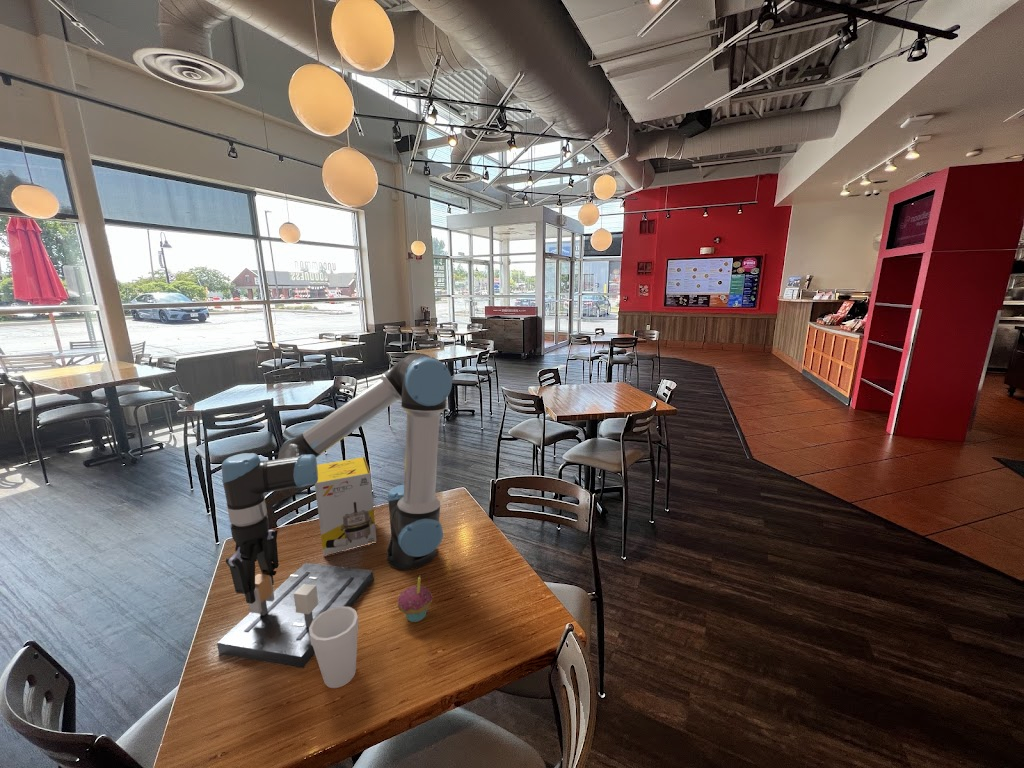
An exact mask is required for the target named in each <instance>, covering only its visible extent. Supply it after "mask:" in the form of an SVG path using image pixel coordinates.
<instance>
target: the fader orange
mask: <svg viewBox="0 0 1024 768" xmlns="http://www.w3.org/2000/svg"><path fill="white" fill-rule="evenodd" d="M255 587H257V588H258V589H259V596H260V602H261V608H262V612H261V613H260V615H263V616H264V615H265V614H266V613H267V612H268V610H267V604H266V598H267V597H269V596H270V595H271V594H272V587H271V581H270V575H264V574H262V573H257V574H255Z"/></svg>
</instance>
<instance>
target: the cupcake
mask: <svg viewBox="0 0 1024 768" xmlns="http://www.w3.org/2000/svg"><path fill="white" fill-rule="evenodd" d="M432 600H433V594H432V592H431V591H430V590H429V588H428V587H426V586H421V575H419V576H418V577H417V585H413V586H409V587H407V588H406V589H405V590H403V591H402V592H401V593H400V594H399V596H398V599H397V609H398V610H399V611H400V612H401V613H402V614H404V615H405V616H406V619H407V621H410V622H411V623H412V622H413V623H415V622H416V623H417V622H421V621H422V620H423V619H425V617H426V614H427V612H428V610H429V607H430V606H431V605H432V602H433V601H432Z"/></svg>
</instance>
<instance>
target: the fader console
mask: <svg viewBox="0 0 1024 768" xmlns="http://www.w3.org/2000/svg"><path fill="white" fill-rule="evenodd" d="M374 579H375V578H374V571H373V570H371V569H363V568H355V567H346V566H345V567H344V566H339V565H338V566H336V565H328V564H319V563H312V562H311V563H310V562H305V563H303V564H302V565H301V566H300V567H299V568H298V569H297V570H295V572H294V573H292V574H290V575H289V577H288V578H287V579H285V581H283V583H281V584H280V585H279V586H278V587H277V588H275V589H274V590H273V592H274V599H275V600H274V601H266V604H267V610H268V612H267V613H266V614H265V615H264V616H263V615H260V614H259V613H252V612H250V611H249V613H248V614H247V615H246V616H245V617H244V618H242V619H241V621H239V622H238V623H237V624H236V625H235V626H233V627H232V628H231V629H230V630H229V631H228V632H227V633H225V634H224V635H223V637H222V638H221V639H220V640H218V641H217V643H216V646H217V649H218V651H217V652H218V655H223V656H228V657H235V658H240V659H246V660H251V661H258V662H264V663H270V664H275V665H280V666H281V665H282V666H286V667H293V668H299V669H304V668H306V666H307V664H308V663H309V662H310V661H311V659H312V658H313V657H314V656H315V652H314V649H313V646H312V645H311V640H310V633H309V627H306V624H305V617H304V613H297V612H296V608H295V601H294V593H295V592H296V591H297V590H298V589H299V588H300V587H301V586H302V585H303V584H309V585H316V588H317V596H318V605H317V606H316V607H315V608H314V609H313V610H312V615H313V620H314V619H315V618H316V617H317V616H318V615H319V614H321V613H323V612H325V611H327V610H329V609H331V608H335V607H339V606H345V607H351V608H352V609H353V607H354V605H355V604H356V602H358V601H359V600H360V598H361V597H362V595H363V594H364V593H365V591H367V589H368V588H369V586H370V585H371V584H372V583H373V581H374ZM371 582H372V583H371Z"/></svg>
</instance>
